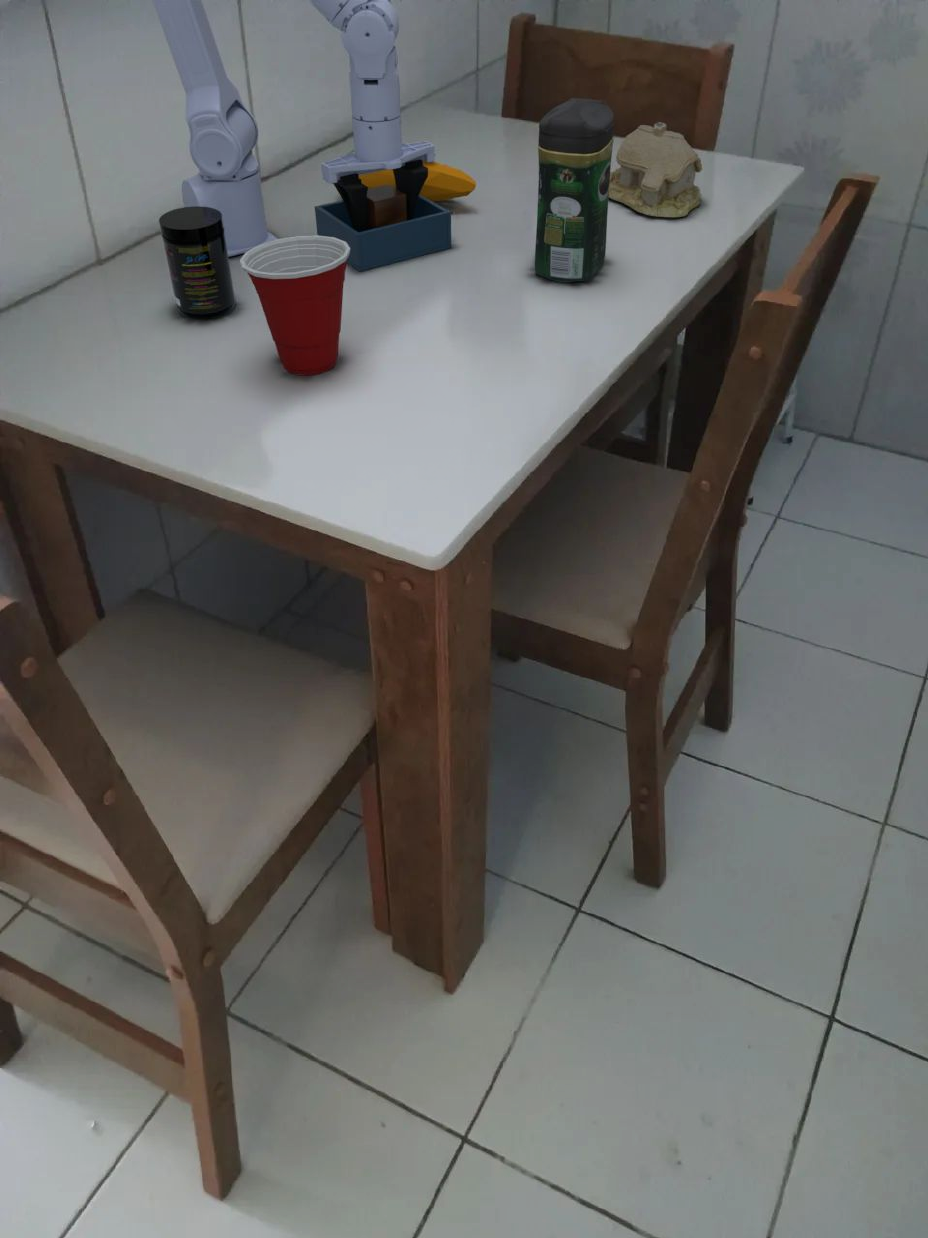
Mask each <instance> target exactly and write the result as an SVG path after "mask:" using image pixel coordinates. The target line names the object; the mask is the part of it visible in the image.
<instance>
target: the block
mask: <svg viewBox="0 0 928 1238" xmlns="http://www.w3.org/2000/svg"><path fill="white" fill-rule="evenodd" d="M404 221H407V211H406V195H405V194H404V193H402V192H400V191H399V190H397V189H395V188H394V187H392V186H390V185H383V186H379V187H375V188H370V189H368V191H367V198H366V223H367V230H371V229H375V228H379V227H383V226H387V225H392V224H396V223H400V222H404Z"/></svg>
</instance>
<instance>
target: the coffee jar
mask: <svg viewBox="0 0 928 1238" xmlns="http://www.w3.org/2000/svg"><path fill="white" fill-rule="evenodd" d="M538 123H539V124H538V141H537V142H538V143H537V152H538V153H537V155H538V156H537V157H538V189H537V211H536V213H537V214H536V231H535V247H534V270H535V272H536V274H538V275H539V276H542V277H544V278H546V279H547V280H551V281H554V282H558V283H572V282H573V283H574V282H586V281H588V280H590V279H591V278H593V277H594V276H595V275H596V274H597V273H598V272H599V270H600V269H601V268H602V266H603V264H604V262H605V259H606V252H607V251H606V250H607V233H608V213H609V212H608V211H609V182H610V172H611V168H612V166H611V165H612V157H613V146H614V135H615V123H616V122H615V114H614V112H613V111H612V109H611V108H610V107H609V106H608V105H607V104H606V103H605V101H603V100H599V99H589V98H588V99H587V98H578V97H577V98H576V97H571V98H569V99H568V100H567V101H565V102H563V103H561V104H559V105H557V106H555V107H553V108H552V109H551V110H550V111H548V112H547V113H546V114H545V115H544V116H543V117H542V118H541V120H540V121H539V122H538Z"/></svg>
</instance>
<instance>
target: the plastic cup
mask: <svg viewBox="0 0 928 1238" xmlns="http://www.w3.org/2000/svg"><path fill="white" fill-rule="evenodd" d="M349 254H350V247H349V246H348V244H347V243H346V242H345V241H342V240H340V239H337V238H335V237H327V236H318V235H317V234H316V235H315V234H314V235H296V236H295V235H294V236H290V237H284V238H278V239H277V240H274V241H271V242H267V243H264V244H261V245H258V246H256V247H254V248H253V249H251V250H249V251H247V252H246V253H243V254H242V256H241V258H240V259H239V262H240V265H241V267H242V269H243V271H244V272H245V273H247V275H248V277H249V278H250V280H251V283H252V285H253V286H254V289H255V291H256V294H257V296H258V299H259V302H260V305H261V307H262V311H263V314H264V316H265V320H266V323H267V327H268V329H269V332H270V335H271V339H272V340H273V342H274V345H275V348H276V351H277V354H278V357H279V361H280V364H281V365H282V366H283V369H284V370H285V371H287V372H288V373H289V374H294V375H297V376H313V375H320V374H323V373H325V372H328V371H330V370H331V369H332V368H334V367H335V366H336V363H337V360H338V356H339V346H340V333H341V330H342V329H341V328H342V326H341V325H342V313H343V298H344V283H345V279H346V278H345V277H346V269H347V258H348V256H349Z"/></svg>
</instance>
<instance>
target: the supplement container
mask: <svg viewBox="0 0 928 1238" xmlns="http://www.w3.org/2000/svg"><path fill="white" fill-rule="evenodd" d="M158 223H159V229H160V232H161V233H160V235H161V238H162V242H163V247H164V251H165V256H166V261H167V266H168V271H169V272H168V273H169V276H170V281H171V286H172V292H173V296H174V302H175V307H176V309H177V311H178V312H179V314H181V315H182V316H183V317H185V318H188V319H191V320H197V321H204V320H205V321H207V320H214V319H217V318H221V317H223V316H226V315H228V314H229V313H230V312H231V311H232V310H233V309H234V307H235V304H236V296H235V290H234V283H233V278H232V272H231V265H230V257H228V252H227V245H226V239H225V233H224V231H225V229H224V225H223V218H222V214H221V212H220V211H218V210H216V209H214V208H210V207H201V206H193V207H179V208H174V209H172V210H169V211H166V212H165V213H163V214H162V215H161V216H160V217H159V219H158Z"/></svg>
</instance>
